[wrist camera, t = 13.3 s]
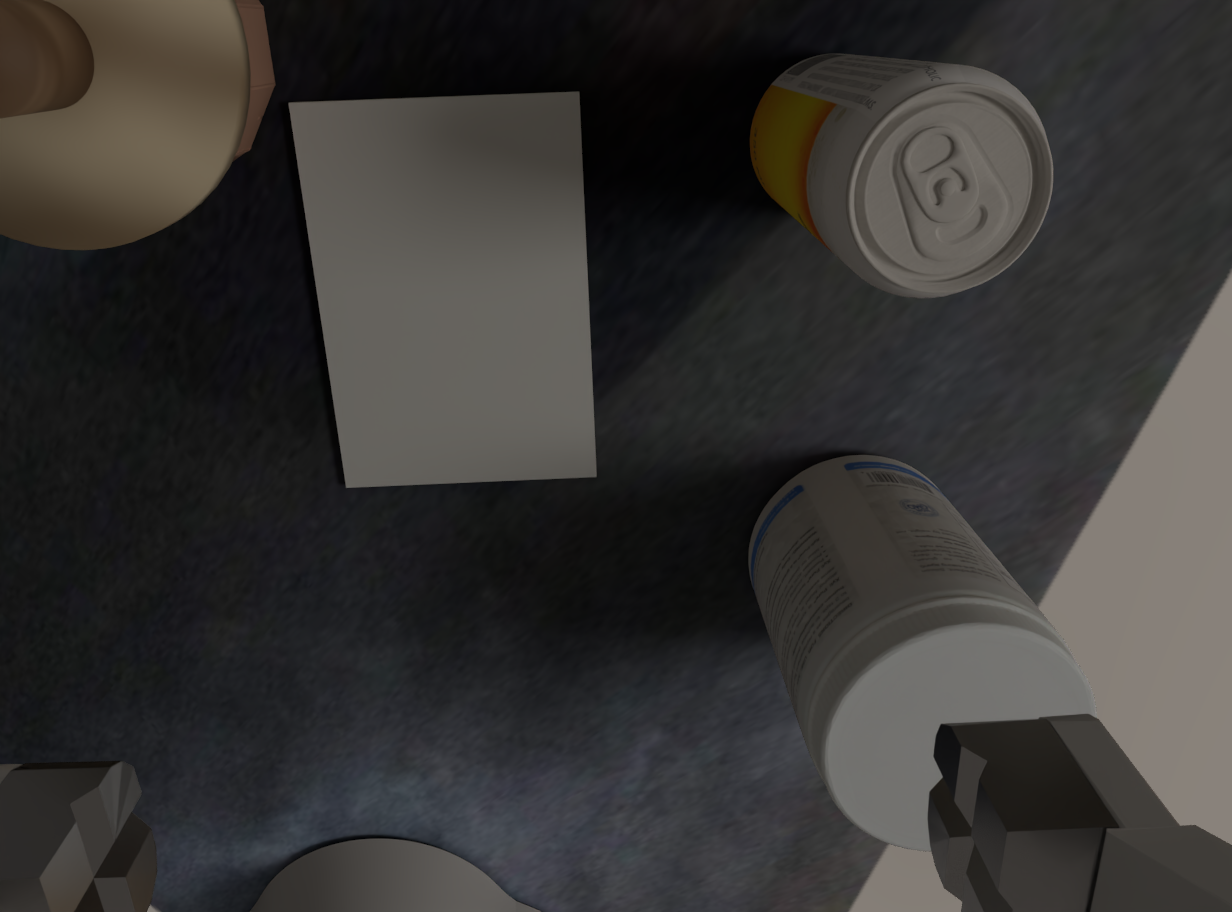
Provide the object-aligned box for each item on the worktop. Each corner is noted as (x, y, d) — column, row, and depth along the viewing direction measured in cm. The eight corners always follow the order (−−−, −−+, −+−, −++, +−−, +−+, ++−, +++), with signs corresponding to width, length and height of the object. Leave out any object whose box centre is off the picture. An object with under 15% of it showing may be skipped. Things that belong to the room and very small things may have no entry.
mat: (596, 473, 45) (596, 476, 45) (347, 484, 45) (346, 487, 45) (579, 91, 39) (579, 91, 39) (291, 102, 39) (288, 102, 38)
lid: (278, 236, 35) (229, 269, 30) (-76, 250, 35) (-181, 285, 30) (213, -170, 30) (143, -208, 25) (-196, -157, 30) (-343, -192, 25)
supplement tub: (799, 661, 49) (881, 900, 36) (708, 510, 46) (760, 710, 33) (984, 571, 48) (1144, 786, 34) (903, 407, 44) (1044, 573, 31)
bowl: (291, 183, 40) (244, 208, 34) (33, 194, 40) (-56, 220, 34) (246, -107, 36) (185, -131, 31) (-40, -97, 36) (-153, -120, 30)
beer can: (788, 242, 41) (891, 348, 28) (719, 106, 39) (792, 148, 26) (925, 165, 40) (1102, 235, 27) (861, 21, 38) (1017, 16, 25)
